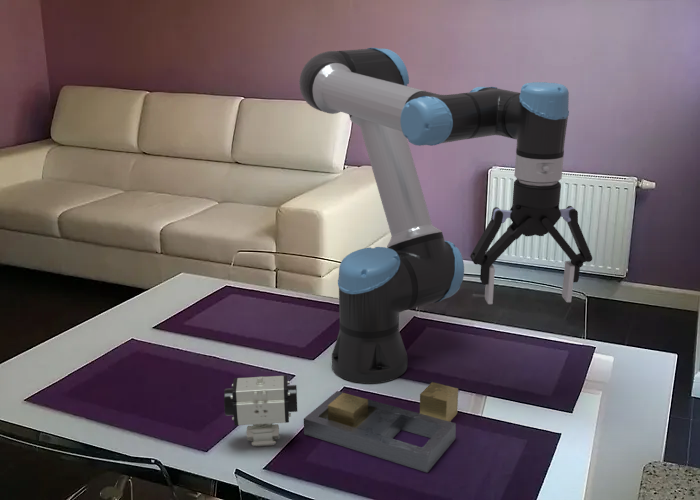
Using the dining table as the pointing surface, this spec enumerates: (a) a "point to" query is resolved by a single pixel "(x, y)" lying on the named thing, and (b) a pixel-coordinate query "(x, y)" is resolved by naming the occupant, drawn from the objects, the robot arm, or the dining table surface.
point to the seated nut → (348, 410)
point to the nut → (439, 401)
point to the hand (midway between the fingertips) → (527, 300)
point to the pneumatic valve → (261, 406)
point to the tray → (385, 433)
